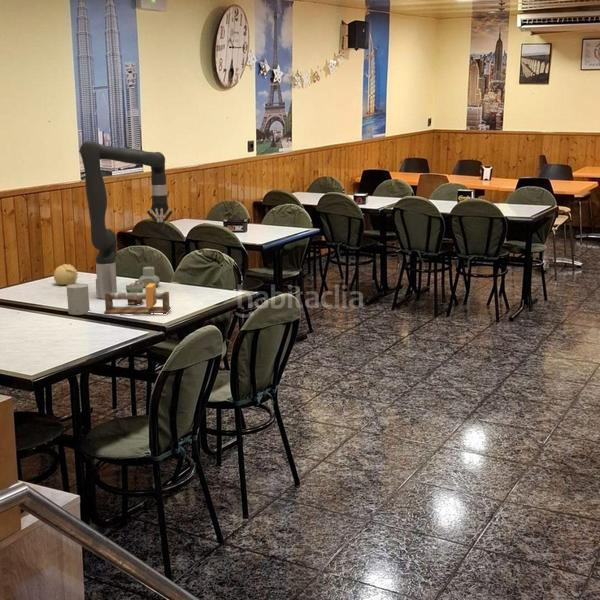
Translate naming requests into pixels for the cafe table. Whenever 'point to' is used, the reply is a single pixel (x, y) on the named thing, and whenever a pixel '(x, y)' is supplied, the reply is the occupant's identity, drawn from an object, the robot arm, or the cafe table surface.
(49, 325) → the cafe table surface
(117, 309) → the rod stand
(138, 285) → the food container
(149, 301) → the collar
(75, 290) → the gray cylinder
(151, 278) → the air freshener
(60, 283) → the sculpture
